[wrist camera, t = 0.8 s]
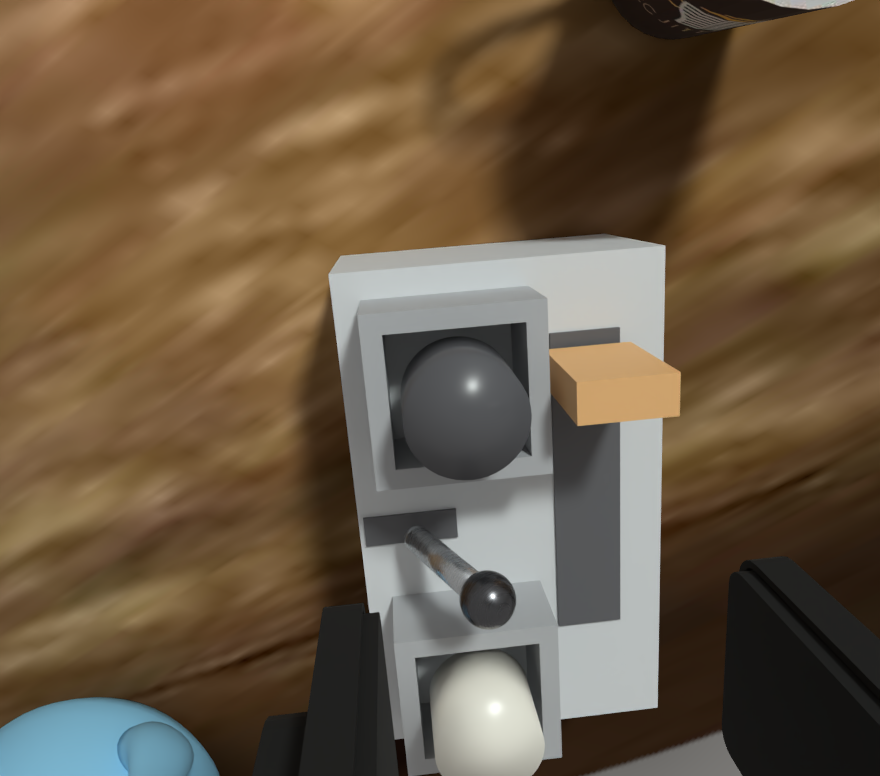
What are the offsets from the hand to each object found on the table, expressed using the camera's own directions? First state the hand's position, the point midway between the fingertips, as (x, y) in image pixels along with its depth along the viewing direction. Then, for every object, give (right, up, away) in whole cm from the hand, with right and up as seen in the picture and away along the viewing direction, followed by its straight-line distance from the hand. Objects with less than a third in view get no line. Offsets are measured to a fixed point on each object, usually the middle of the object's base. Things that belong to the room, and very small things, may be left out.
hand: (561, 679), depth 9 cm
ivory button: (0, -8, +17) cm, 19 cm away
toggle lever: (-3, -2, +17) cm, 17 cm away
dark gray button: (-1, +4, +14) cm, 14 cm away
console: (+1, +1, +24) cm, 24 cm away
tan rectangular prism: (+4, +5, +16) cm, 17 cm away
